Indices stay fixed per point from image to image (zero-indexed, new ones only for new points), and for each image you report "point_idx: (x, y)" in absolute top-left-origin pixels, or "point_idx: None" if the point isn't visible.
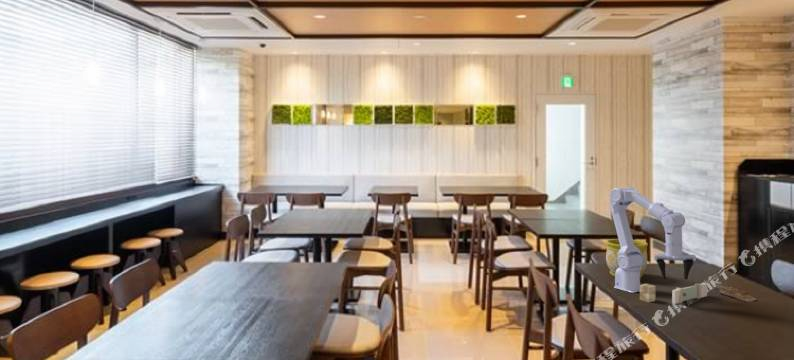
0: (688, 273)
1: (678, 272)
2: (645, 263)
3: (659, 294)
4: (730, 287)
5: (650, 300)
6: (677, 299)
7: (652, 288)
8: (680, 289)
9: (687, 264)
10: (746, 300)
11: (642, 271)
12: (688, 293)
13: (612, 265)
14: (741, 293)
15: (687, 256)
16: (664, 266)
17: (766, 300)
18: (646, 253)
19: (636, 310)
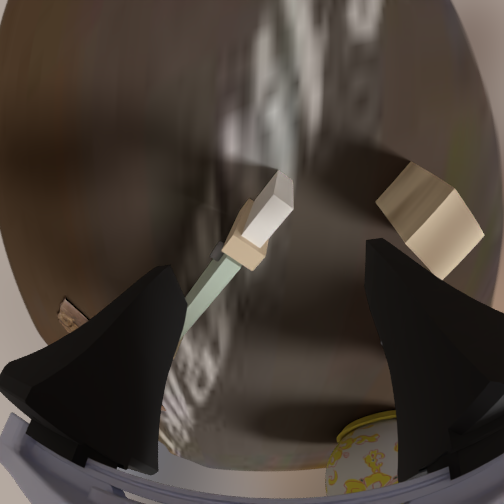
0: (116, 299)
1: (246, 453)
2: (337, 464)
3: (332, 312)
4: None
5: (404, 173)
6: (262, 194)
7: (423, 211)
8: (235, 234)
9: (48, 371)
10: (66, 304)
11: (344, 442)
12: (202, 280)
13: None
14: None
15: (22, 486)
16: (454, 329)
17: (49, 318)
18: (330, 492)
19: (456, 13)
